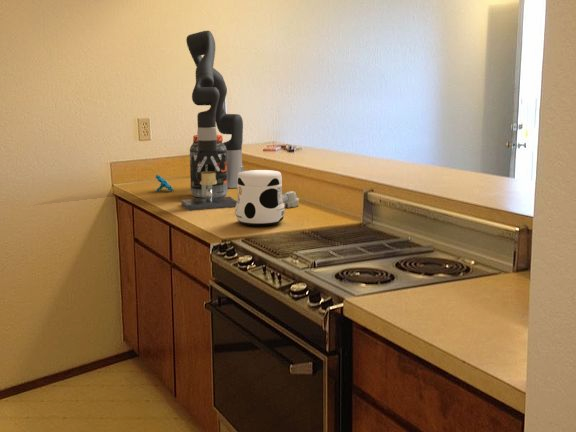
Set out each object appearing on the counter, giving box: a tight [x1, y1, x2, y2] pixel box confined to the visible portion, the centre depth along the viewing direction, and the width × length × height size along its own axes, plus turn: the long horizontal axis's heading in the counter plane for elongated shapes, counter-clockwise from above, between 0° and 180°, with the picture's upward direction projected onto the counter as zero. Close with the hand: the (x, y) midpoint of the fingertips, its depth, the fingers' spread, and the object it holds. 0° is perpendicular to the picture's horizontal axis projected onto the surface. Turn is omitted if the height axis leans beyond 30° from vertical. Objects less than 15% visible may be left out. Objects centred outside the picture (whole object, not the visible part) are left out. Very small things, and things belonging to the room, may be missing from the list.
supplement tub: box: [189, 134, 228, 199], centre depth 302 cm, size 16×16×26 cm
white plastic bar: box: [282, 190, 300, 208], centre depth 275 cm, size 5×7×25 cm
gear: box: [155, 174, 174, 192], centre depth 315 cm, size 11×6×10 cm
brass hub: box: [200, 171, 217, 185], centre depth 280 cm, size 6×6×4 cm
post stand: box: [180, 189, 237, 211], centre depth 282 cm, size 20×12×6 cm, turn 110°
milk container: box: [235, 169, 286, 227], centre depth 249 cm, size 17×17×18 cm
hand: (208, 180), depth 280 cm, fingers closed on brass hub, 6 cm apart
